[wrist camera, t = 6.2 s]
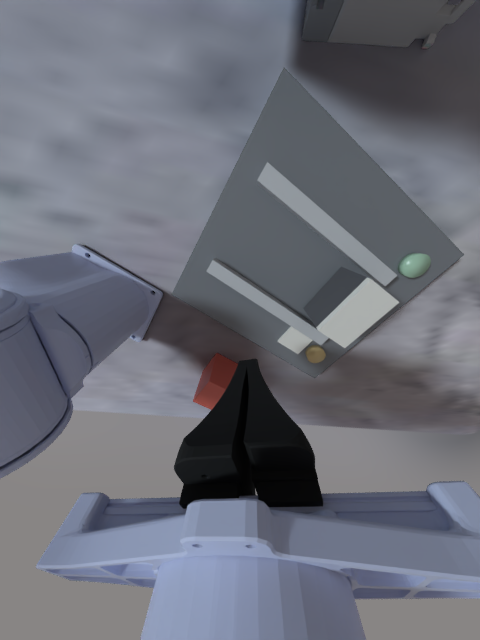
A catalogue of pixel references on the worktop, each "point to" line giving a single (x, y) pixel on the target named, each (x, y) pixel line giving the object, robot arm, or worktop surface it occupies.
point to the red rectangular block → (214, 381)
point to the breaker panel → (306, 232)
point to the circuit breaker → (379, 21)
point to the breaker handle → (348, 306)
